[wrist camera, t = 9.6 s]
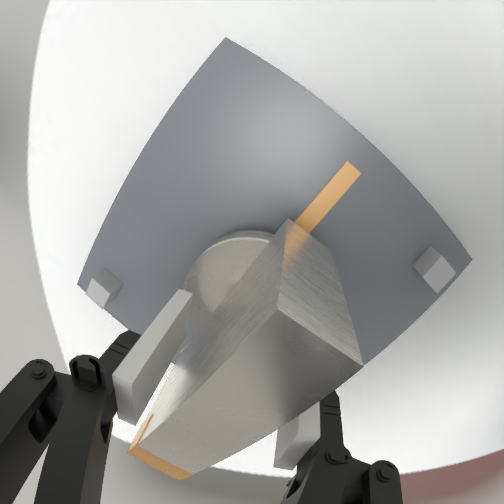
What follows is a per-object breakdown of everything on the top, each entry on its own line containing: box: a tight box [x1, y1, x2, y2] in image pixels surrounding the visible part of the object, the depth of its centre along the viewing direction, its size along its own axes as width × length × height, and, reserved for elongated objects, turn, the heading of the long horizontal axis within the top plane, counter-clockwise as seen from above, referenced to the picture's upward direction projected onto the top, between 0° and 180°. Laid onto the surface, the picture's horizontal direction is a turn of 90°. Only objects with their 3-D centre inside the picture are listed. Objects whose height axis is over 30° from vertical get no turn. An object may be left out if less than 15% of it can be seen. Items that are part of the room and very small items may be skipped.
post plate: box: [77, 37, 472, 366], centre depth 20 cm, size 24×24×3 cm
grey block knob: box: [127, 218, 364, 480], centre depth 13 cm, size 11×8×11 cm
